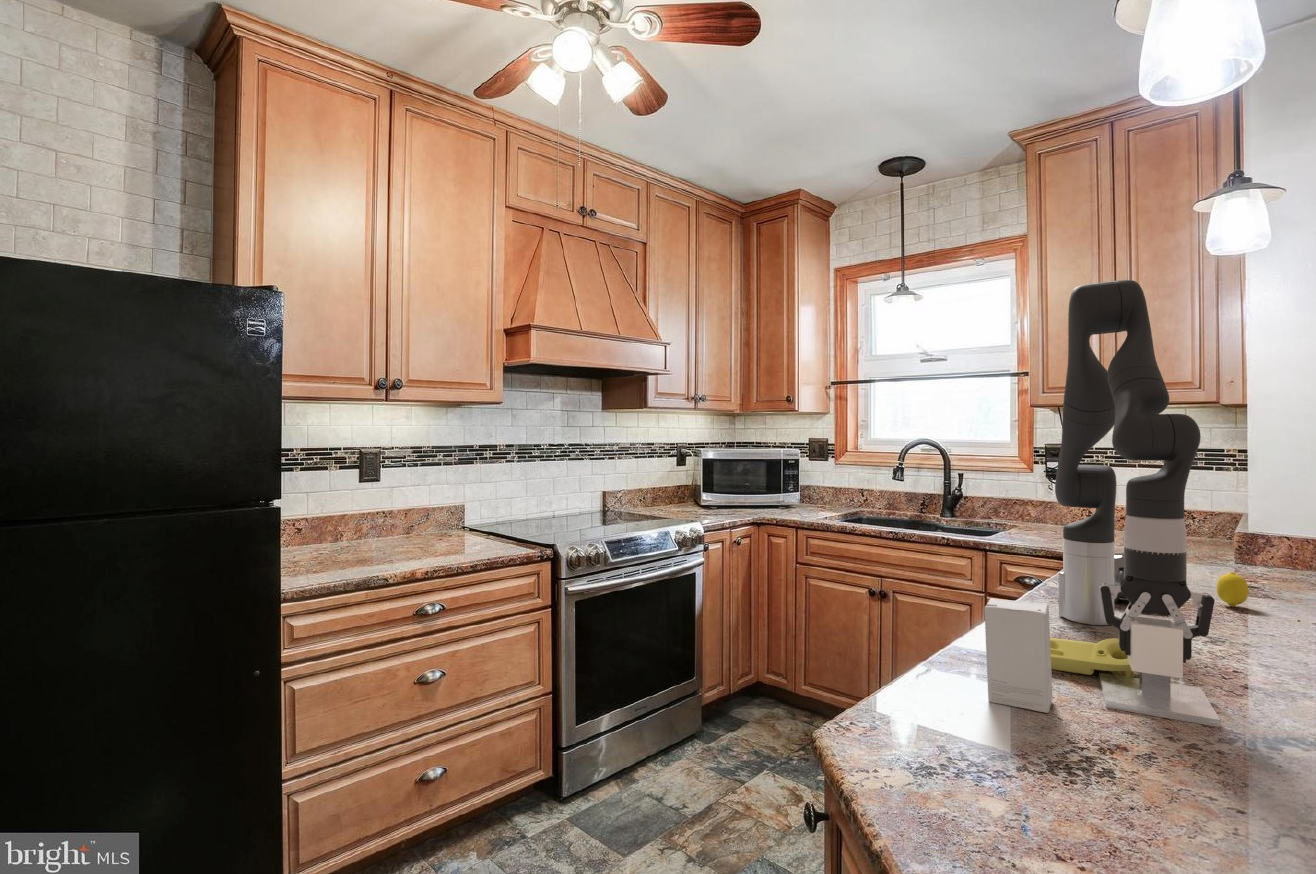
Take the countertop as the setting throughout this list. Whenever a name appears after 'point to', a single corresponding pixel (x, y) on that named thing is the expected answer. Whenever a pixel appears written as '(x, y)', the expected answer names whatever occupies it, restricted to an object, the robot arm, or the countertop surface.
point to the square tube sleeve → (1156, 647)
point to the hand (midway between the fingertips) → (1154, 657)
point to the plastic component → (1089, 657)
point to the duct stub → (1157, 698)
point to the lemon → (1232, 589)
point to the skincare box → (1018, 654)
